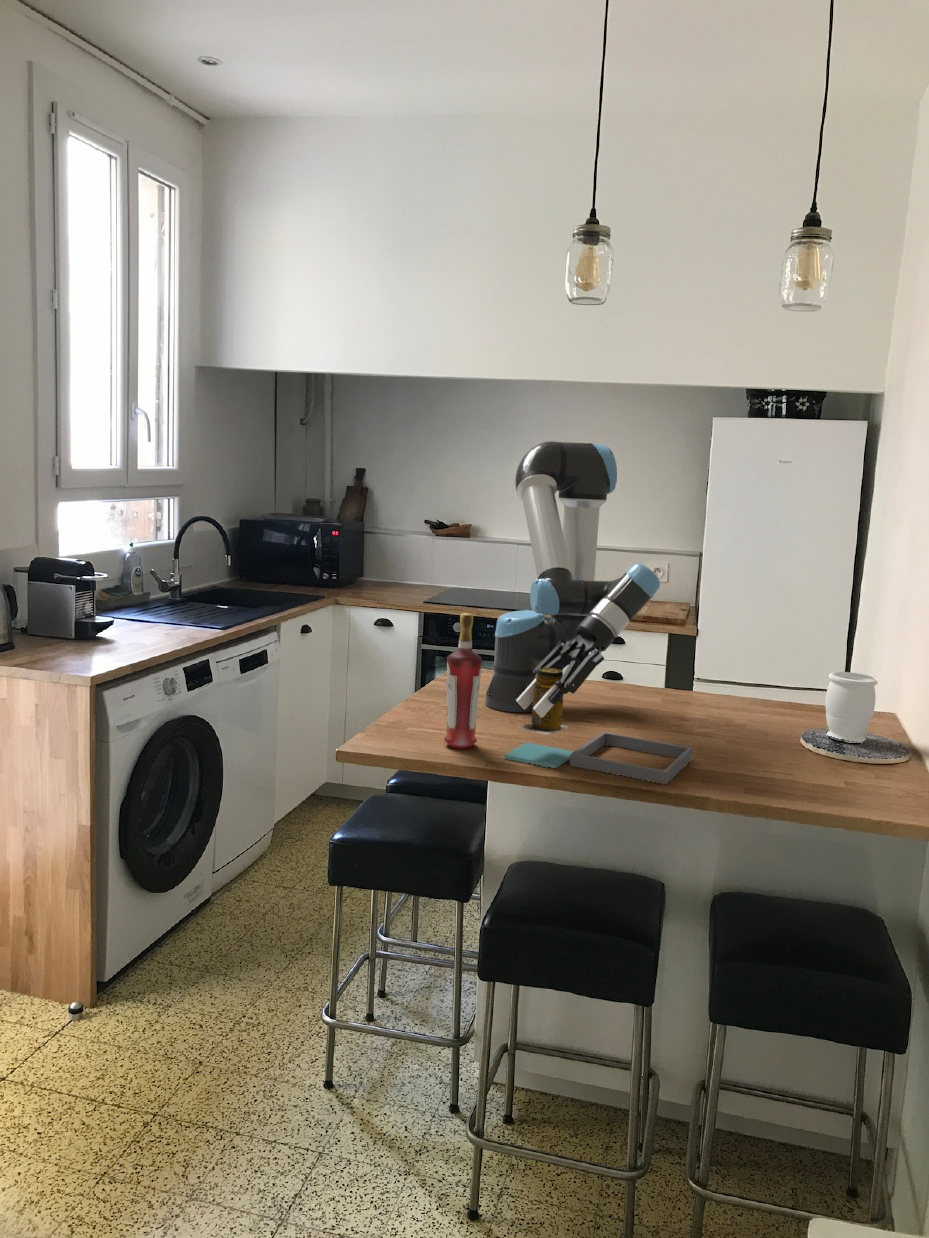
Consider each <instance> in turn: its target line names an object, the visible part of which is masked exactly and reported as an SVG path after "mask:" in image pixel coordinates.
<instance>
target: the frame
mask: <svg viewBox="0 0 929 1238" xmlns="http://www.w3.org/2000/svg"><path fill="white" fill-rule="evenodd" d="M605 745H606V746H610V747H616V748H622V749H627V750H631V751H639V752H644V753H649V754H655V755H659V756H665V757H671V758H676V759H675V760H673V762H671V764H669V765H668V766H667V767H666V768H664V770H663V769H660V768H659V769H657V768H654V767H653V768H652V767H648V766H647V767H646V766H643V765H638V764H633V763H628V762H627V763H626V762H623V761H617V760H611V759H606V758H601V757H596V756H591V755H592V754H593V753H595V752H596V751H598V750H599V749H601V748H602V747H603V746H605ZM693 750H694V748H693V747H689V746H683V745H677V744H673V743H668V742H661V741H657V740H651V739H645V738H638V737H635V736H634V737H633V736H627V735H622V734H619V733H618V734H616V733H612V732H606V731H603V732H601V733H600V734H598V735H597V736H595V737H594V738H593V739H591V740H589V741H588V742H586V743H585V744H583V745H582V746H580V747H579V748H578V749H576V750H574V752H573V753H571V757H570V759H569V767H573V768H578V767H582V768H581V769H583V768H586V769H585V770H588V769H589V770H588V771H593V770H598V771H602V772H601V773H603V772H606V773H605V774H608V773H614V774H619V775H623V776H622V777H624V776H627V777H626V778H629V777H634V778H638V779H637V780H639V779H642V780H641V781H644V780H650V781H654V782H657V783H656V784H659V783H661V784H660V785H664V784H666V785H668V784H669V783H670V781H671V780H672V779H674V777H676V775H678V774H679V771H680V770H683V769H684V768H685V767H686V766H687V765H688V764H689V763H690V762H691V761H692V760H693V752H694V751H693ZM687 763H688V764H687ZM683 767H684V768H683ZM682 768H683V769H682ZM598 771H597V772H598ZM680 772H681V771H680ZM614 774H613V775H614ZM619 775H618V776H619ZM634 778H633V779H634ZM669 780H670V781H669ZM654 782H653V783H654Z"/></svg>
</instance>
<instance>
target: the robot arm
mask: <svg viewBox="0 0 929 1238" xmlns="http://www.w3.org/2000/svg"><path fill="white" fill-rule="evenodd" d="M516 469H517V470H516V474H515V480H514V481H515V490H516V495H517V497H518V498H519V500H521V501H522V504H523V508H524V515H525V519H526V524H527V530H528V531H527V532H528V535H529V541H530V546H531V551H532V552H531V553H532V557H533V562H534V566H535V572H536V576H537V578H536V579H535V580H533V581H532V583H531V585H530V591H529V597H530V599H529V600H530V601H529V602H530V607H531V609H532V610H529V609H525V610H524V609H523V610H515V611H508V612H506V613H503V614H502V615H500V616H499V617H498V618H497V620H496V627H495V632H494V637H495V640H494V658H493V659H494V662H493V672H492V673H493V674H492V676H491V679H490V682H489V684H488V687H487V689H486V692H485V695H484V705H486V706H487V707H489V708H491V709H494V710H498V711H502V712H511V713H532V711H533V709H534V710H535V712H536V713H537V714H538V715H539V716H540V717H541V718H543V717H544V716H545V714H546V713H547V712H548V711H549V710H550V709H551V708H552V706H553V705H554V704H556V703H557V702H558V700H559V699H560V698H561V697H562V696H563V697H564V695H567V694H568V693H570V694H575V693H576V692H577V691H578V690H579V688H580V687H581V686H582V684H583V683H584V682H585V681H586V679H587V678H589V675H591V673H592V672H593V671H594V670H595V668H596V667H598V665H599V664H600V663H602V662H603V661H604V660H605V656H604V655H602V653H603V652H606V650H607V649H608V648H609V647H610V645H611V644H612V643H613V642H614V641H615V638H617V637H618V636H619V635H620V634H621V632H623V631H624V629H625V628H626V627H627V626H628V625H629V624H630V622H631V621H633V619H634V618H635V617H636V616H637V615H638V614H639V613H640V612H641V610H642V609H643V608H644V607H645V606H646V605H647V603H648V602H649V601H650V600H651V599H653V598H654V595H655V594H656V593H657V592H658V591H659V589H660V586H661V581H660V580H659V577H658V576H657V574H655V572H653V571H652V570H651V569H650V567H647V566H646V565H644V564H641V563H634V564H632V565H631V566H630V567H629V568H628V569H627V570H625V571H624V573H623V575H622V576H620V577H619V578H617V579H614V580H596V579H595V578H596V566H597V565H596V564H597V562H596V561H597V552H598V549H597V548H598V537H599V536H598V535H599V534H598V533H599V521H600V510H601V509H600V508H601V506H602V505H604V504H605V503H606V502H607V500H608V499H607V497H608V495H610V494H612V493H613V492H614V491H615V489H616V485H617V482H618V465H617V462H616V457H615V455H614V453H613V451H612V449H611V448H610V447H609V446H607V445H605V444H598V443H592V442H590V443H587V442H586V443H585V442H571V441H569V442H568V441H567V442H566V441H555V440H554V441H552V440H551V441H545V442H540V443H538V444H536V445H535V446H533V447H531V448H530V449H529V450H528V451H527V452H526V454H524V456H523V457H522V458H521V459H520V462H519V464H518V467H517V468H516ZM557 492H558V500H559V501H560V502H561V503H562V504H563V519H562V520H563V521H562V523H561V518H560V513H559V509H558V504H557V499H556V494H557ZM546 615H549V617H548V616H546ZM566 667H567V668H566ZM540 668H555V669H559V670H561V671H562V670H564V668H566V669H565V671H564V672H563V675H562V678H561V679H560V681H557V682H555V683H556V684H557V685H558V687H557V686H556V685H553V686H552V687H551V688H550V689H549V690H548V692H547V693H546V694H545V695H544V696H543V697H542V698H541V700H540V701H539V702H538V703H537V704H536V705H535V706H534V707H533V695H534V683H535V682H536V677H537V670H538V669H540Z"/></svg>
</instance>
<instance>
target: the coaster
mask: <svg viewBox="0 0 929 1238" xmlns="http://www.w3.org/2000/svg"><path fill="white" fill-rule="evenodd" d="M574 751H575V750H574ZM574 751H573V750H569V749H563V748H558V747H555V746H553V747H552V746H547V745H543V744H542V745H541V744H538V743H537V744H536V743H534V742H533V743H532V742H524V743H523V744H522V745H519V746H517V747H516V748H514V749H513V750H511V751H509V752H507V753H506V754H504V759H505V760H509V761H513V760H514V762H519V763H524V764H528V763H531V764H530V765H533V764H536V765H535V766H538V765H540V766H539V767H543V768H548V767H551V768H550V769H553V768H556V767H557V768H559V767H560V766H561V764H562V765H563V764H564V763H566V762H567V761H570V757H571V753H573V752H574ZM557 768H556V769H557Z"/></svg>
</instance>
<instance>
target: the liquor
mask: <svg viewBox="0 0 929 1238" xmlns="http://www.w3.org/2000/svg"><path fill="white" fill-rule="evenodd" d="M459 625H460V633H459V638H458V639H459V640H458V647H457V650H456V651H453V652H452V653H450V654H449V655H448V656H446V735H445V736H444V739H443V740H444V742H445V743H446V744H447V745H448V746H449V747H450V746H451V747H450V748H452V747H453V748H452V749H455V748H457V750H466V749H470V748H471V747H473V746H474V745H475V744H476V743H477V741H478V740H477V738H476V724H477V713H478V703H479V693H480V686H481V677H482V675H481V674H482V666H483V658H482V657H481V656H480V655H479V654H478V653H476V652H474V651H473V640H472V638H473V637H472V628H473V625H474V614H473V613H460V615H459Z"/></svg>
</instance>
